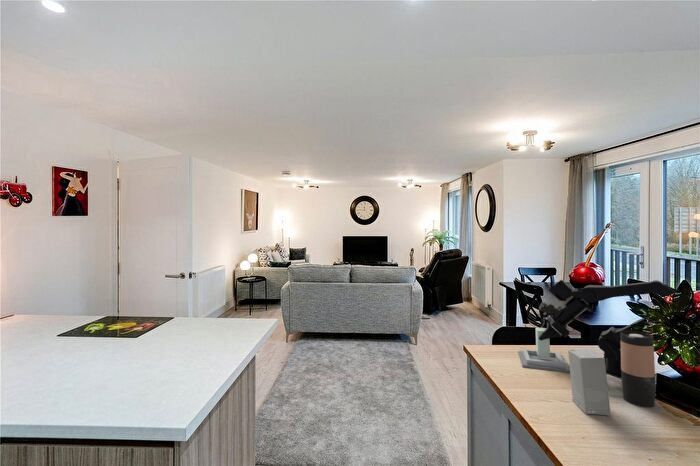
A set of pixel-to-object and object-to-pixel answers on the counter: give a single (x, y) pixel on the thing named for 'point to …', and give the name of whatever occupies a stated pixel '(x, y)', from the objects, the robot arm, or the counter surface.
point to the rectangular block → (542, 344)
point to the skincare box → (589, 381)
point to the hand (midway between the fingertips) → (538, 337)
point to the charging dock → (543, 361)
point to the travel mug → (638, 368)
